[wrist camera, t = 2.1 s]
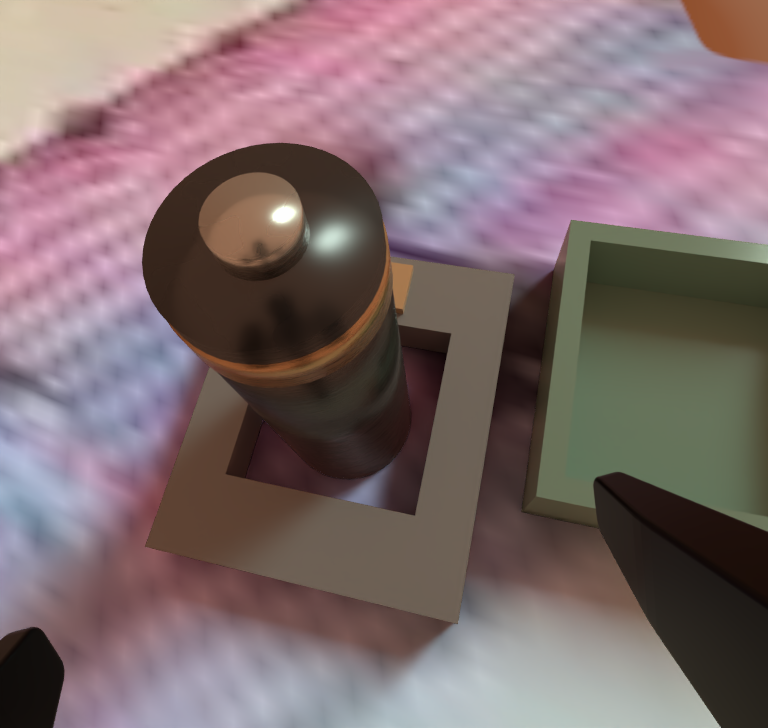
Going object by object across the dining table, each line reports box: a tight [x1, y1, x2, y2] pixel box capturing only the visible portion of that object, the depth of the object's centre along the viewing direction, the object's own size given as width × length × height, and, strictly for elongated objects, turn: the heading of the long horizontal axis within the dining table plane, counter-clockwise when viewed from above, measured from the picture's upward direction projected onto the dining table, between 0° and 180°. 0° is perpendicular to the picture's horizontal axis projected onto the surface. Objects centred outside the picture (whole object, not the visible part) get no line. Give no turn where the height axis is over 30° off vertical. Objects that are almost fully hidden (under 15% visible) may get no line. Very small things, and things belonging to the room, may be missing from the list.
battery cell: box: [142, 143, 411, 479], centre depth 17 cm, size 5×5×13 cm
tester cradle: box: [145, 257, 514, 624], centre depth 22 cm, size 13×11×2 cm
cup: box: [521, 220, 768, 531], centre depth 21 cm, size 11×11×4 cm
